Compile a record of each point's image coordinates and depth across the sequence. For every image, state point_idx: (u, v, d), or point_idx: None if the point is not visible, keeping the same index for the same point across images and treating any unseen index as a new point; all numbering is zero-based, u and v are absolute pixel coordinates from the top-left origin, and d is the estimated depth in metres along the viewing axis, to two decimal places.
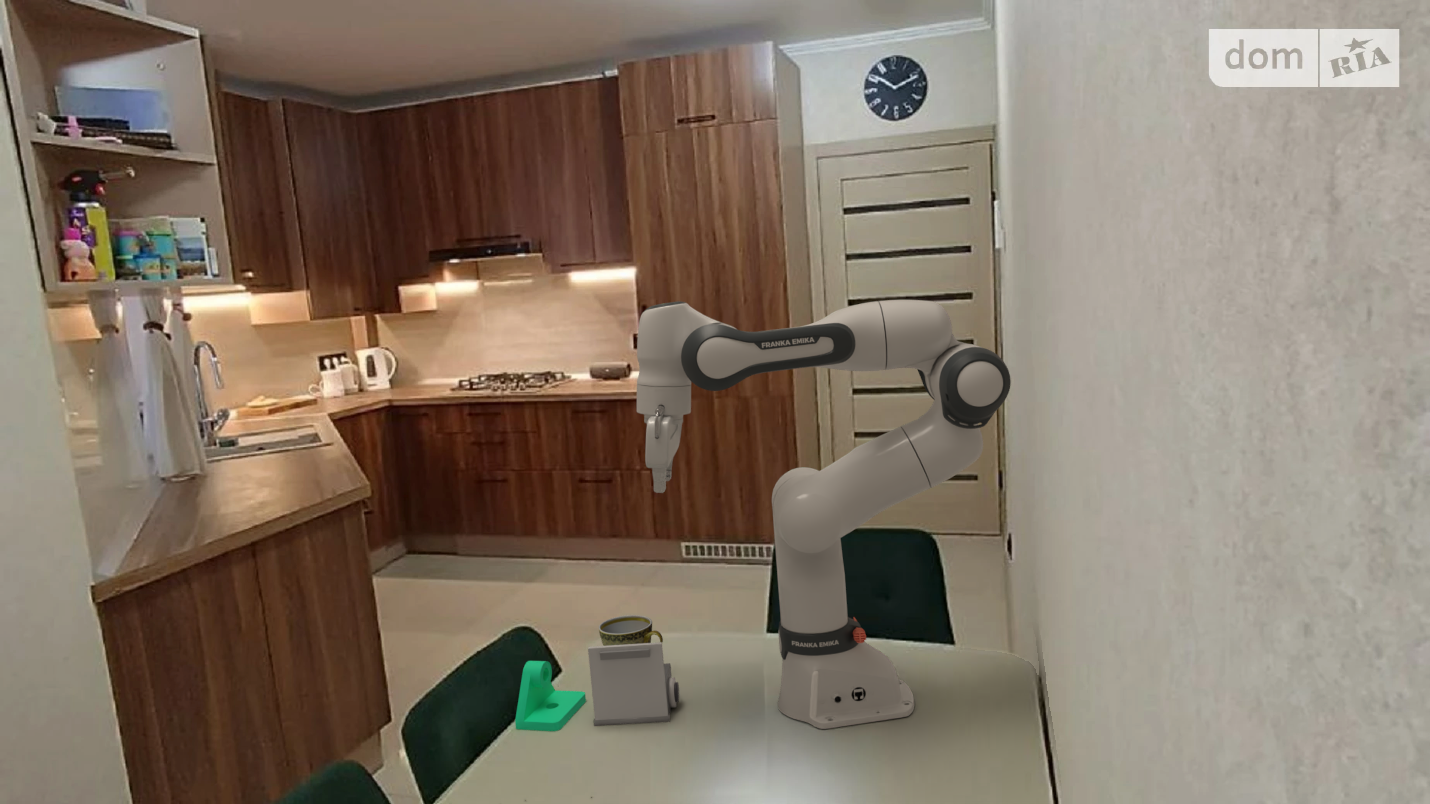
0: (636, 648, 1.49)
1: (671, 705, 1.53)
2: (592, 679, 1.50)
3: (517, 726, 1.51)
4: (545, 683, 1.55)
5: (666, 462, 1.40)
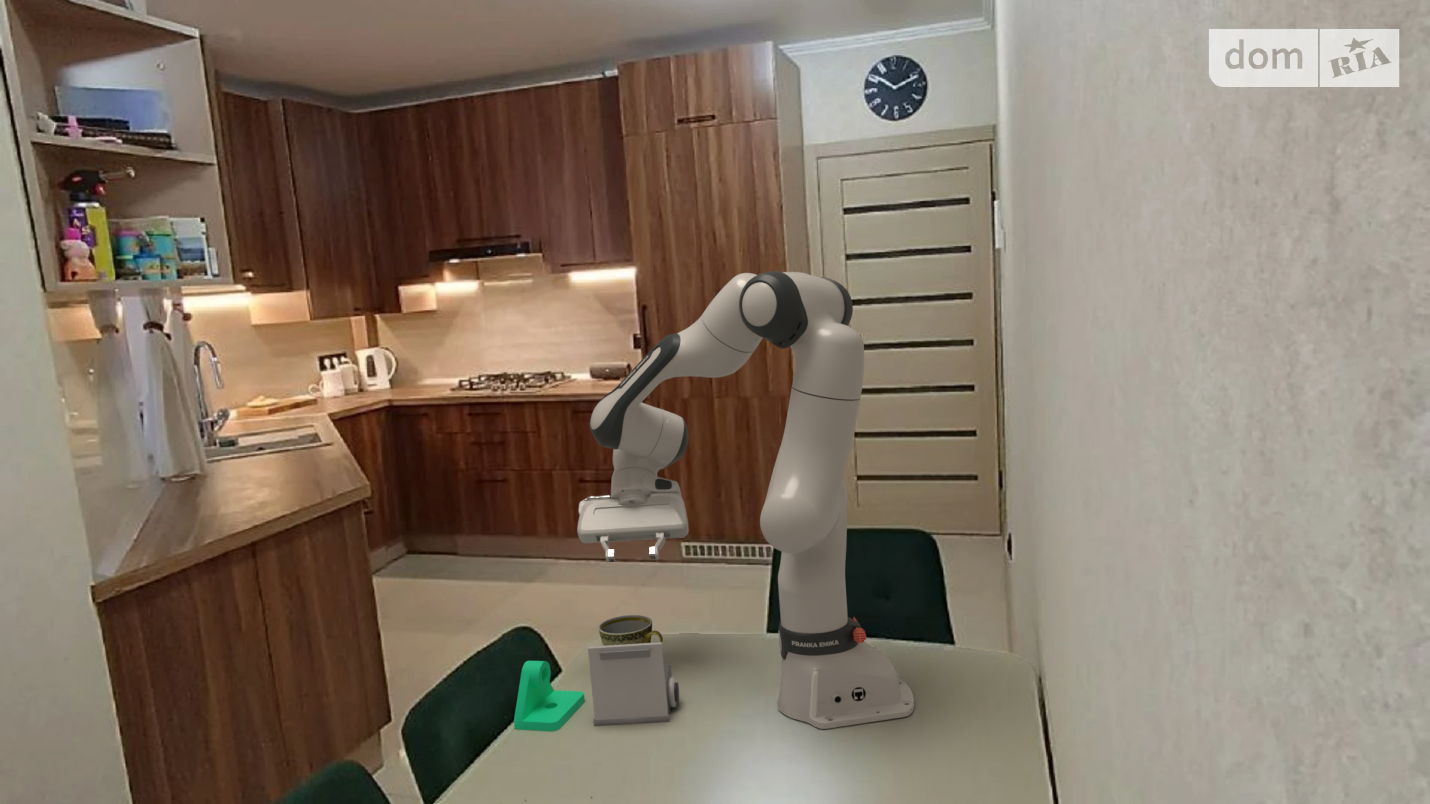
0: (636, 648, 1.49)
1: (671, 705, 1.53)
2: (592, 679, 1.50)
3: (515, 726, 1.51)
4: (544, 682, 1.55)
5: (577, 530, 1.67)
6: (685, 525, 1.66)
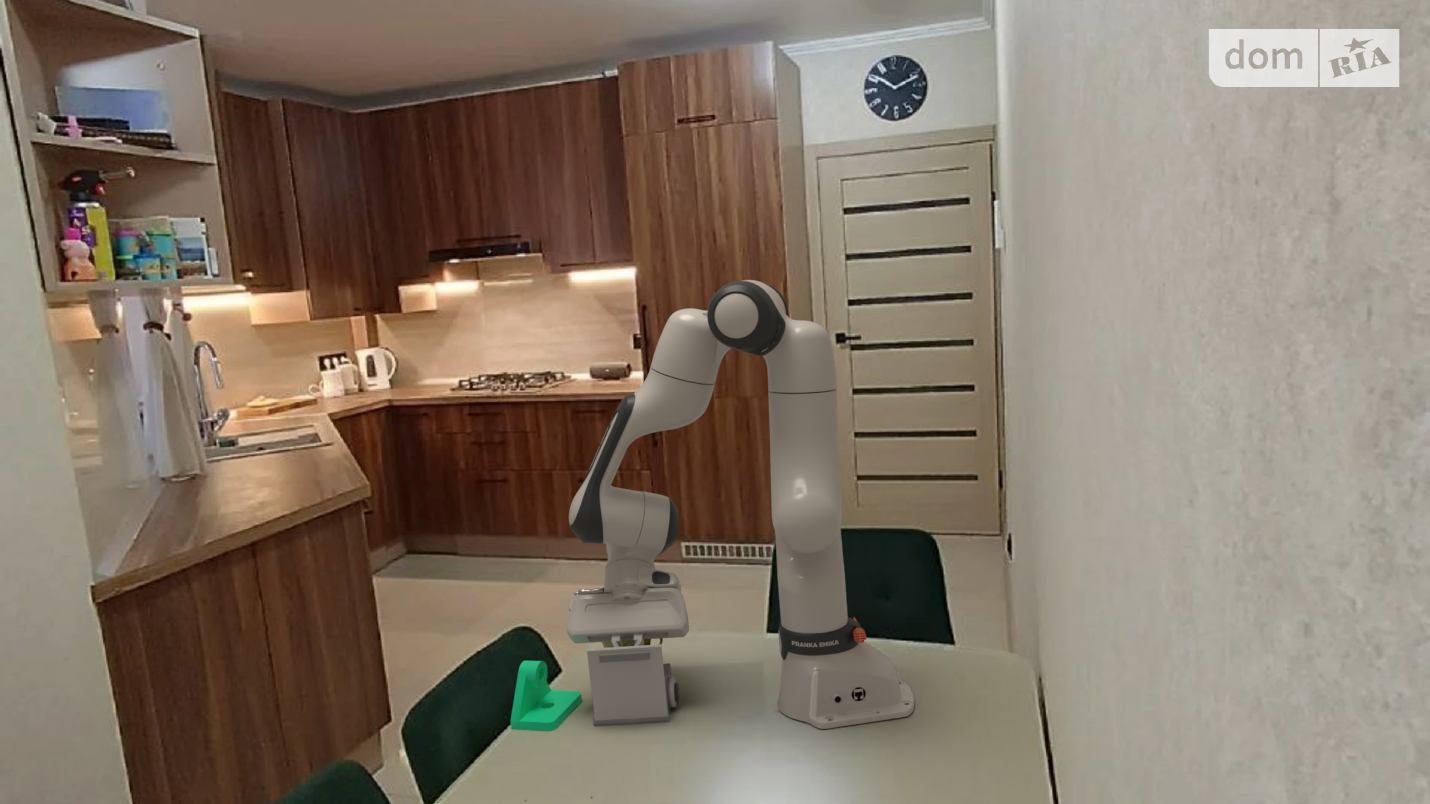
0: (635, 650, 1.48)
1: (671, 705, 1.53)
2: (591, 681, 1.49)
3: (512, 726, 1.52)
4: (540, 682, 1.55)
5: (567, 630, 1.53)
6: (685, 625, 1.51)
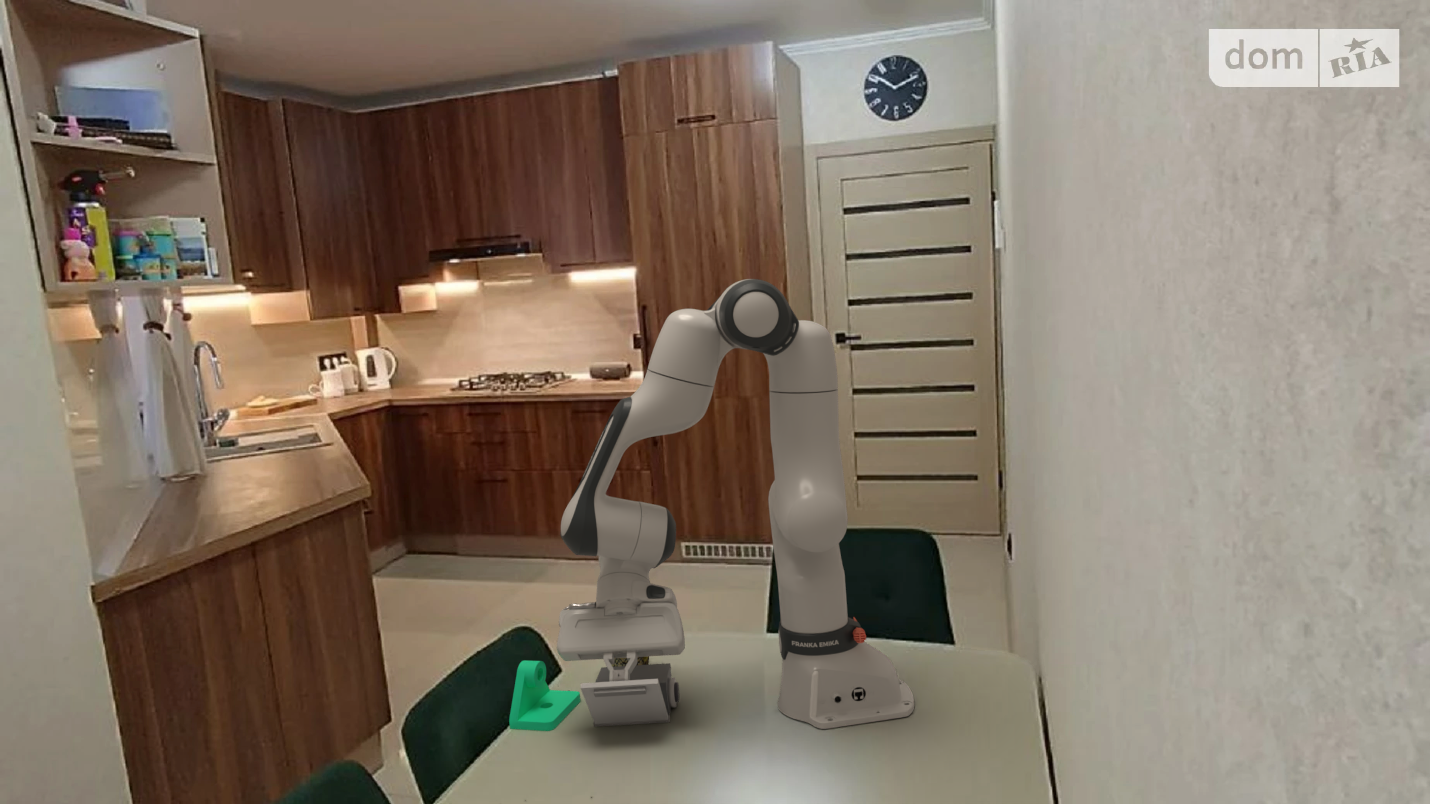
0: (631, 686, 1.41)
1: (671, 705, 1.53)
2: (588, 704, 1.45)
3: (511, 726, 1.52)
4: (539, 682, 1.55)
5: None
6: (680, 642, 1.44)
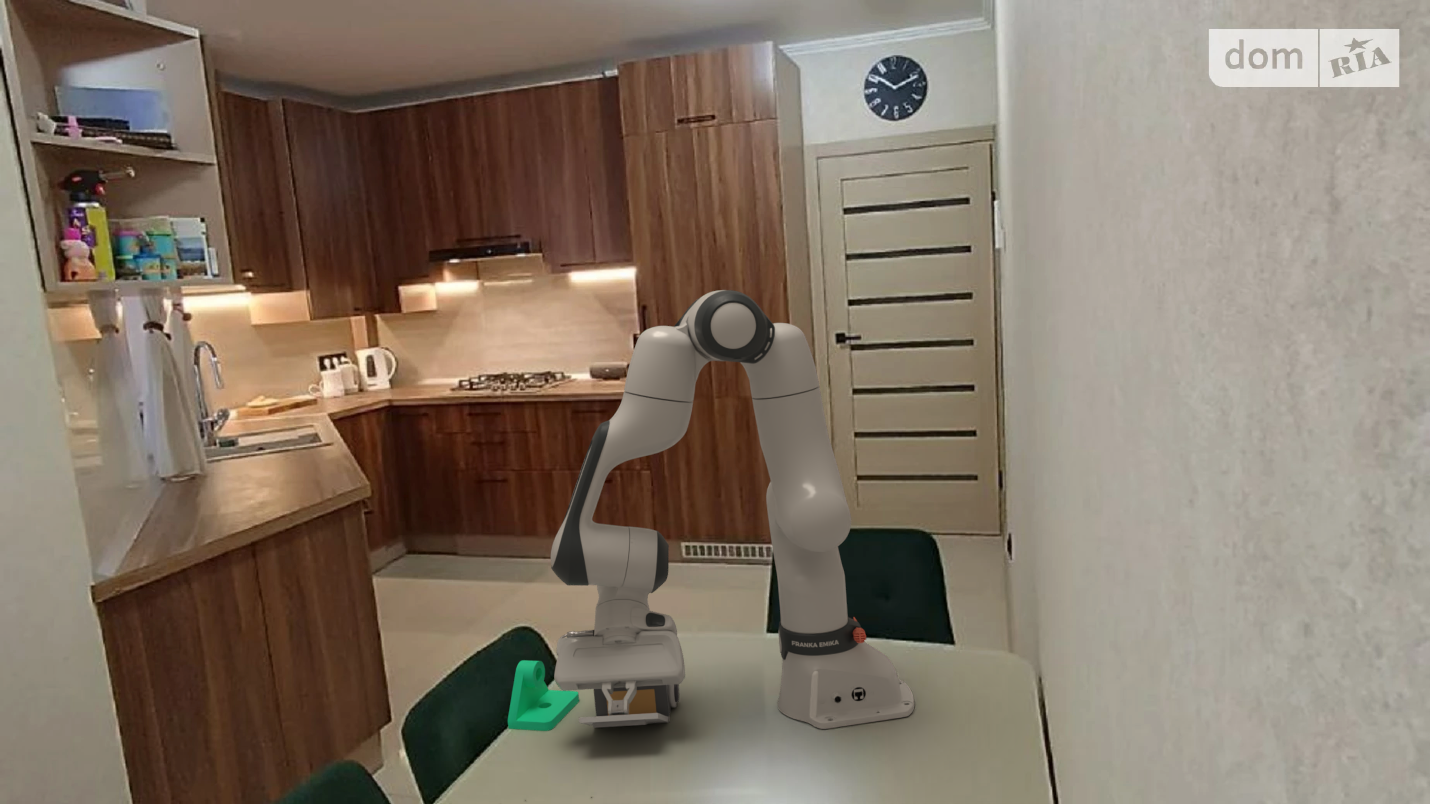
0: (631, 720, 1.39)
1: (671, 705, 1.53)
2: (587, 724, 1.44)
3: (509, 726, 1.52)
4: (538, 682, 1.56)
5: (554, 677, 1.42)
6: (681, 671, 1.41)
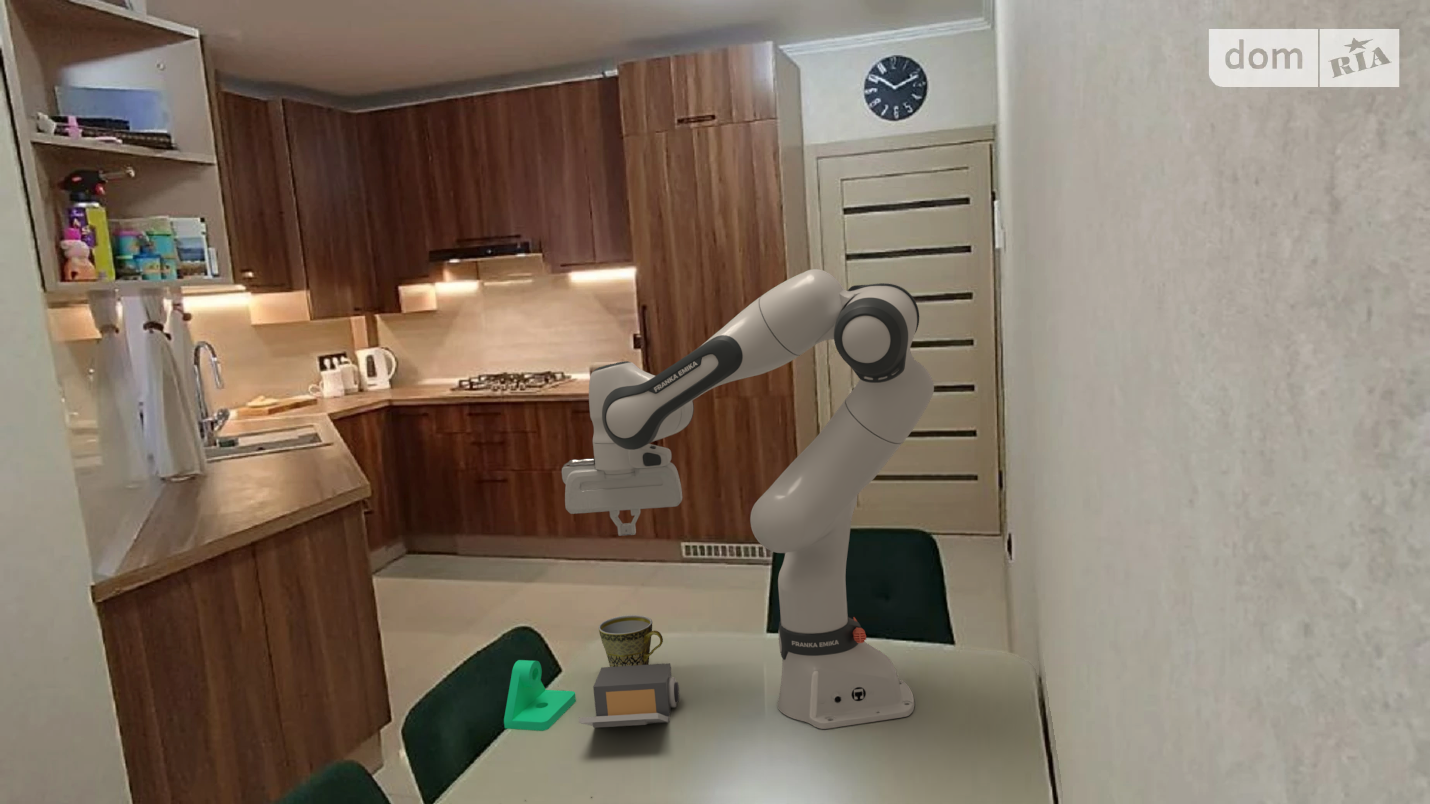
0: (631, 720, 1.39)
1: (671, 705, 1.53)
2: (587, 724, 1.44)
3: (505, 725, 1.52)
4: (534, 682, 1.56)
5: None
6: (679, 502, 1.58)
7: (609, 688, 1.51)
